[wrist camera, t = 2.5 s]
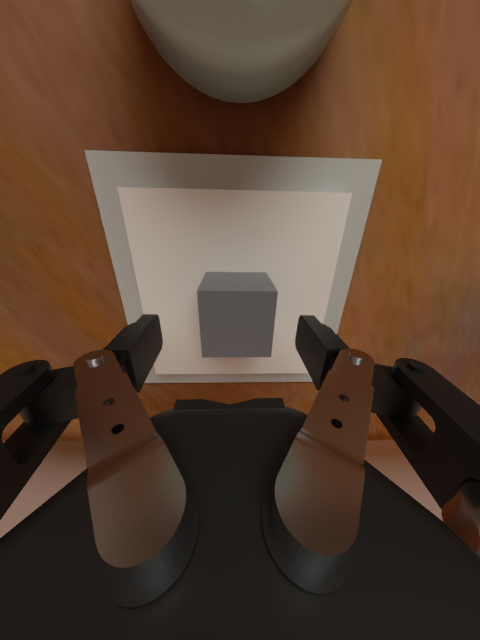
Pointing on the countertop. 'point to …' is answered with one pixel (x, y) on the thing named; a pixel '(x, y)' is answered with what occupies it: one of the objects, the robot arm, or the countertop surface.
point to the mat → (230, 175)
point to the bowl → (240, 41)
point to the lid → (232, 272)
